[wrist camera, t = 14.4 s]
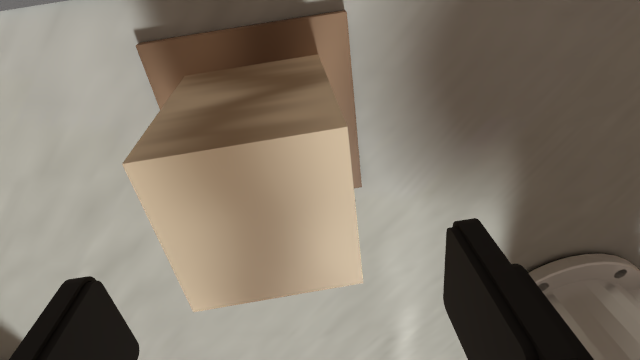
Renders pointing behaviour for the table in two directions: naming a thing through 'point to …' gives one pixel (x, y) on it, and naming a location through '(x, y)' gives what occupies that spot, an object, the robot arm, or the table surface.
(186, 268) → the maple block
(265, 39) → the pad
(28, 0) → the gray board
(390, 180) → the table surface
